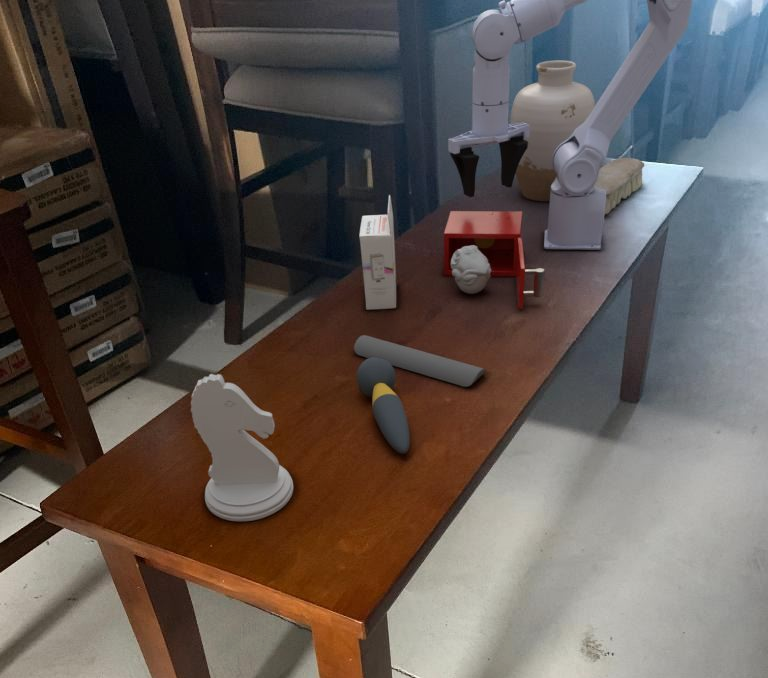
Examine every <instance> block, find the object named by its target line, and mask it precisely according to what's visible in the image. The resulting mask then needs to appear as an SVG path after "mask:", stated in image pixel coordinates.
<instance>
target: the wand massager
mask: <svg viewBox="0 0 768 678" xmlns="http://www.w3.org/2000/svg"><path fill="white" fill-rule="evenodd" d="M396 377H397V376H396V371H395V369H394V366H393V365H391V364H390V363H389V362H388V361H386V360H384V359H381V358H377V357H372V358H366V359H365V360H363V362H361V364H360V365H359V366H358V369H357V372H356V384H357V387H358V388H359V390H360V391H361V392H362V394H363V395H365V396H368V397H370V398H372V400H371V403H372V404H371V405H372V406H371V408H372V413H373V416H374V419H375V421H376V424H377V426H378V428H379V430H380V432H381V434H382V435H383V436H384V438H385V440H386V441H387V443H388V444H389V445H390V446H391V447H392V449H393V450H395V451H396V452H397V453H399V454H406V453H407V452H408V451H409V448H410V444H411V443H410V442H411V437H410V428H409V427H410V426H409V421H408V417H407V413H406V410H405V407H404V405H403V402H402V400H401V398H400V397H399V395H398V394H396V392H395V391H394V390H393V389H394V387H395V384H396V379H397V378H396Z"/></svg>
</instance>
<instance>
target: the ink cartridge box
mask: <svg viewBox="0 0 768 678" xmlns="http://www.w3.org/2000/svg"><path fill="white" fill-rule="evenodd" d="M360 221H361V222H360V228H359V236H358V237H359V243H360V244H359V245H360V255H361V265H362V277H363V285H364V286H363V287H364V298H365V310H366V311H367V310H368V311H370V310H387V309H388V310H390V309H396V308H397V273H396V272H397V269H396V250H395V249H396V247H395V246H396V245H395V228H394V225H395V224H394V211H393V205H392V197H391V194H388V203H387V214H371V215H370V214H369V215H362V216H361V220H360Z"/></svg>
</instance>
